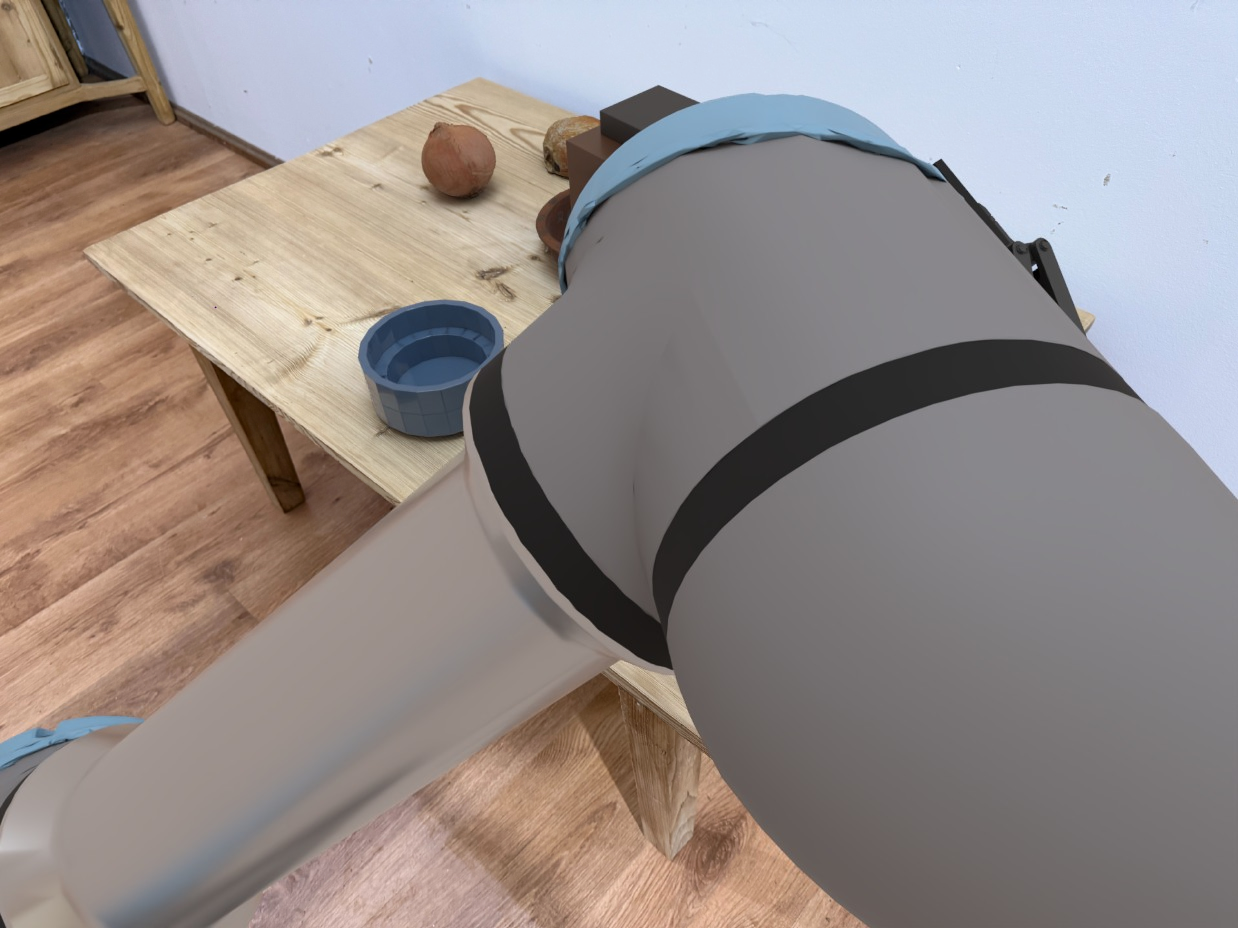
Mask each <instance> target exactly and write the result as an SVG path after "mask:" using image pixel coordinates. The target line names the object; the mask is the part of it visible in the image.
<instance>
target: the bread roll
mask: <svg viewBox="0 0 1238 928" xmlns="http://www.w3.org/2000/svg"><path fill="white" fill-rule="evenodd" d="M599 125H600V118H599V119H598V118H596V117H594V116H592V115H586V114H584V115H579V116H571V117H565V118H561V119H557V120H556V121H554V122H553V123H552V124H551V125H550V126H549V127H548V128H547V131H546V132H545V136H544V138H543V141H542V154H543V158H544V163H545V164H546V170H547V172H548V173H549V172H550V173H553V174H556V175H558V176H561V177H567V178H569V175H568V163H567V150H566V140H568V139H570V138H572V137H574V136H577V135H579V134H581V133H583V132H586V131H588V130H590V129H592V128H595V127H597V126H599Z"/></svg>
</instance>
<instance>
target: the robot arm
mask: <svg viewBox="0 0 1238 928" xmlns="http://www.w3.org/2000/svg"><path fill="white" fill-rule="evenodd" d="M1035 265H1036V268H1035V269H1034V270H1033V267H1034V266H1035ZM557 269H558V271H557V272H558V283H559V288H560V294H561V296H560V297H559V298H558V299H557V300H556V301H555V302H554V303H552V304H551V305H550V306H549V307H548V308H547V309H546V310H544V311H543V312H542V313H541V314H540V315H539V316H538V317H537V318H536V319H535V320H533V321H532V322H531V323H530V324H529V325H528V326H527V327H526V328H524V330H523V331H521V332H520V333H519V334H518V335H516V337H515V338H514V339H512V340H511V341H510V343H509V344H508V345H507V344H506V347H505V348H504V349H503V350H502V351H501V352H500V353H499V354H497V355H496V356H495V357H494V358H493V359H492V360H491V361H490V362H489V363H487V364H486V365H485V366H484V367H483V368H482V369H480V370H479V371H478V372H477V373H476V374H475V376H474V377H473V378H472V380H471V381H470V383H469V384H468V387H467V390H466V393H465V396H464V402H463V409H462V414H463V431H462V432H463V442H464V448H463V449H462V450H461V451H460V452H458V453H457V454H456V455H454V457H452V458H451V459H450V460H449V461H448V462H447V463H446V464H445V465H443V466H442V467H441V468H440V469H438V471H435V473H434V474H433V475H431V476H430V477H429V478H428V479H427V480H426V481H425V482H423V483H422V484H421V485H420V486H418V487H417V488H416V489H415V490H414V491H413V492H411V494H409V495H408V496H407V497H405V499H403V500H402V501H401V502H399V504H397V505H396V506H394V508H392V510H390V511H389V512H387V514H386V515H384V516H383V517H382V518H381V519H380V520H379V521H377V522H376V523H375V524H373V526H372V527H370V528H369V529H368V530H367V531H366V532H364V533H363V534H362V535H361V536H360V537H359V538H358V539H357V540H355V541H354V542H353V543H352V544H351V545H349V546H348V547H347V548H346V549H344V550H343V551H342V552H341V553H340V554H338V556H336V557H335V558H334V559H332V561H330V562H329V563H328V564H327V565H326V566H325V567H323V568H321V570H320V571H319V572H317V574H315V575H313V577H311V579H309V580H308V581H307V582H306V583H305V584H303V585H302V586H301V587H300V588H299V589H298V590H296V591H295V592H294V593H293V594H292V595H290V597H288V598H287V599H286V600H285V601H284V602H282V603H281V604H280V605H278V607H277V608H275V609H274V610H273V611H272V612H271V613H270V614H269V615H267V616H266V617H265V618H263V619H262V620H261V621H260V622H259V623H257V625H256V626H254V627H252V629H250V631H248V632H247V633H246V634H245V635H244V636H243V637H241V638H240V639H239V640H238V641H237V642H236V643H234V644H233V645H232V646H231V647H230V648H228V649H227V650H226V651H225V652H224V653H222V655H220V656H219V657H217V659H216V660H214V661H213V662H212V663H211V664H210V665H208V666H207V667H206V668H205V669H204V670H203V671H202V672H201V673H199V674H198V675H197V676H196V677H194V678H193V679H192V680H191V681H190V682H188V683H187V684H186V685H185V686H184V687H182V689H180V690H179V691H178V692H176V694H174V695H173V696H172V697H171V698H170V699H168V701H166V702H165V703H164V704H163V705H161V706H160V707H159V708H158V709H157V710H156V711H155V712H153V713H152V714H151V715H150V716H149V717H147V718H142V717H135V716H127V715H91V716H89V715H88V716H83V717H75V718H68V719H64V720H61V721H60V722H59V723H58V724H57V725H56V727H55V729H54V730H53V729H52V730H51V729H50V730H49V729H45V728H43V727H39V726H38V727H34V728H31V729H28V730H26V731H22V732H20V733H17V734H16V735H14V736H12V737H10V738H8V739H6V740H4V741H2V742H0V928H248V927H249V925H250V923H251V922H252V920H253V918H254V916H255V914H256V912H257V910H258V908H259V906H260V903H261V900H262V897H263V894H264V891H266V890H268V889H269V888H271V887H272V886H274V885H275V884H276V883H278V882H280V881H281V880H282V879H284V878H286V877H288V876H289V875H290V874H292V873H294V872H295V871H297V870H299V869H300V868H301V867H303V866H305V865H306V864H308V863H309V862H311V861H312V860H314V859H315V858H317V857H319V856H320V855H321V854H323V853H325V852H326V851H327V850H329V849H331V848H332V847H334V846H335V845H337V844H338V843H340V842H341V841H343V840H345V839H346V838H348V837H349V836H351V835H352V834H355V832H357V831H358V830H360V829H361V828H363V827H365V826H366V825H369V823H371V822H372V821H374V820H375V819H377V818H379V817H380V816H382V815H384V814H385V813H386V812H388V811H389V810H391V809H392V808H394V807H395V806H397V805H398V804H400V803H401V802H403V801H405V800H406V799H408V798H409V797H412V795H414V794H416V793H417V792H419V791H420V790H422V789H424V788H425V787H426V786H428V785H430V784H431V783H433V782H434V781H436V780H437V779H439V778H441V777H442V776H443V775H445V774H447V773H448V772H450V771H451V770H453V769H454V768H456V767H458V766H459V765H461V764H462V763H463V762H465V761H467V760H468V759H470V758H472V757H473V756H474V755H476V754H477V753H479V752H481V751H482V750H484V749H485V748H487V747H488V746H490V745H492V744H493V743H495V742H496V741H498V740H499V739H501V738H503V737H504V736H506V735H508V733H510V732H511V731H513V730H514V729H516V728H518V727H519V726H521V725H522V724H524V723H525V722H527V721H528V720H530V719H532V718H533V717H535V716H536V715H538V714H539V713H541V712H542V711H544V710H545V709H547V708H549V707H550V706H552V705H553V704H555V703H556V702H557V701H559V700H561V699H562V698H564V697H566V696H567V695H568V694H570V693H572V692H574V691H575V690H576V689H578V688H579V687H581V686H583V685H584V684H586V683H587V682H589V681H591V680H593V679H594V678H595V677H596V676H598V675H599V674H601V673H603V672H604V671H606V670H607V669H609V668H610V667H612V666H614V665H615V664H616V663H618V662H619V661H623V662H624V663H627V664H630V665H632V666H635V667H638V668H641V669H643V670H646V671H649V672H652V673H656V674H660V675H662V676H674V678H675V680H676V683H677V686H678V690H679V691H680V694H681V697H682V699H683V703H684V705H685V708H686V710H687V712H688V714H689V717H690V719H691V721H692V724H693V726H694V728H695V730H696V732H697V734H698V735H699V737H700V739H701V741H702V744H703V745H704V747H705V748H706V751H707V753H708V754H709V757H710V758H711V760H712V762H713V764H714V766H715V768H716V770H717V772H718V773H719V775H720V777H721V779H722V780H723V782H724V783H725V784H726V785H727V786H728V788H729V789H730V791H731V792H732V793H733V794H734V796H735V797H736V798H737V799H738V801H739V803H741V805H742V806H743V807H744V808H745V810H746V811H747V812H748V813H749V815H750V816H751V818H752V819H753V820H754V821H755V822H756V824H757V825H758V826H759V827H760V829H761V830H762V831H763V832H764V833H765V835H766V836H768V838H769V839H771V841H772V842H773V843H774V844H775V845H776V846H777V848H778V849H780V850H781V851H782V852H783V854H784V855H785V856H786V857H787V858H788V859H789V860H790V861H791V862H792V864H794V865H795V866H796V867H797V868H798V869H799V870H800V871H801V872H802V873H803V874H804V875H805V876H806V877H808V878H809V879H810V880H811V881H812V882H813V883H814V884H815V885H816V886H818V887H819V888H820V889H821V890H822V892H824V893H825V894H826V895H827V896H828V897H830V898H831V899H832V900H833V901H834V902H836V903H837V904H838V905H839V906H841V908H843V909H844V910H846V911H847V912H848V913H850V914H851V915H852V916H853V917H855V918H856V919H857V920H858V921H860V922H861V923H862V924H864V925H865V926H866V927H868V928H1238V498H1237V496H1236V495H1234V493H1233V492H1232V491H1231V490H1230V489H1229V487H1228V486H1227V485H1225V483H1224V481H1222V479H1221V478H1220V477H1219V476H1218V475H1217V474H1216V473H1215V471H1213V469H1212V468H1211V467H1210V466H1209V465H1208V463H1207V462H1206V461H1205V460H1204V459H1203V458H1202V457H1201V455H1199V453H1198V452H1197V451H1196V450H1195V448H1193V447H1192V445H1191V444H1190V443H1189V442H1188V441H1187V440H1186V439H1185V438H1184V437H1183V436H1182V435H1181V434H1180V433H1179V432H1178V430H1176V428H1174V427H1173V426H1172V425H1171V424H1170V423H1169V422H1168V421H1167V420H1166V419H1165V418H1164V417H1163V415H1161V414H1160V413H1159V412H1158V411H1156V410H1155V409H1154V408H1152V407H1151V406H1149V404H1147V403H1146V402H1145V401H1144V400H1143V398H1141V396H1140V395H1139V394H1138V393H1137V392H1136V391H1135V390H1134V389H1133V388H1132V387H1131V386H1130V385H1129V384H1128V383H1127V381H1126V380H1125V379H1124V378H1123V376H1122V375H1121V374H1120V373H1119V372H1118V370H1116V369H1115V368H1114V367H1113V365H1112V364H1111V363H1110V362H1109V360H1107V359H1106V357H1105V356H1104V355H1103V354H1102V353H1101V352H1100V350H1098V349H1097V347H1096V346H1095V345H1094V344H1093V343H1092V342H1091V341H1090V340H1089V339H1088V337H1087V334H1086V331H1085V329H1084V325H1083V323H1082V321H1081V319H1080V316H1079V313H1078V310H1077V308H1076V305H1075V303H1074V301H1073V298H1072V296H1071V293H1070V290H1069V288H1068V285H1067V283H1066V282H1067V281H1066V280H1065V277H1064V276H1063V271H1062V270H1061V267H1060V265H1059V262H1058V259H1057V257H1056V255H1055V252H1054V249H1053V246H1052V245H1051V243H1050V241H1048V239H1046V238H1044V237H1037V238H1036V239H1035V240H1033V241H1031V242H1023V241H1020V240H1014V239H1012V238H1011V236H1010V235H1009V234H1008V233H1007V232H1006V231H1005V229H1004V228H1003V227H1002V226H1001V224H1000V223H999V222H998V221H997V220H996V218H995V216H993V215H992V214H991V212H990V211H989V209H988V208H987V207H986V206H984V205H982V204H981V202H978V200H976V198H974V197H973V195H972V194H971V193H970V191H969V190H968V189H967V188H966V186H965V185H964V184H963V183H962V181H961V180H960V179H959V178H958V177H957V176H956V174H955V173H954V172H953V171H952V169H951V168H950V167H949V166H948V165H947V163H946V162H945V161H944V160H943V158H940V159H938V160H936V161H935V162H933V163H932V164H931V163H930V162H926V161H924V160H922V159H920V158H918V157H916V156H915V155H913V154H912V153H911V152H910V150H908V149H907V148H906V147H904V146H901V144H899V143H898V142H897V141H895V140H894V138H892V137H891V136H890V135H889V134H888V133H886V131H884V130H883V129H882V128H881V127H879V126H878V125H877V124H876V123H874V122H873V121H871V120H870V119H868V118H867V117H865V116H863V115H862V114H859V113H858V112H856V111H854V110H852V109H850V108H847V107H845V106H842V105H840V104H837V103H834V102H832V101H828V100H825V99H822V98H819V97H813V96H809V95H804V94H797V95H796V94H788V93H776V94H762V93H757V92H748V93H747V92H746V93H739V94H734V95H729V96H723V97H718V98H714V99H713V98H712V99H709V100H706V101H703V102H700V103H699V104H696V105H693V106H690V107H687V108H685V109H682V110H680V111H677V112H675V113H673V114H671V115H669V116H667V117H665V118H663V119H661V120H659V121H657V122H655V123H654V124H652V125H650V126H649V127H647V128H645V129H644V130H642V131H641V132H639V133H638V134H636V135H635V136H633V137H632V138H631V139H629V140H628V141H627V142H625V143H624V144H623V145H622V146H621V147H619V148H618V149H617V150H616V151H615V152H614V153H613V154H612V155H611V156H610V157H609V158H608V159H607V160H606V161H605V162H604V163H603V164H602V165H601V166H600V167H599V169H598V170H597V171H596V172H595V173H594V175H593V176H592V177H591V179H590V180H589V182H588V183H587V184H586V186H585V188H584V189H583V191H582V192H581V194H580V195H579V197H578V199H577V202H576V203H575V205H574V208H573V210H572V212H571V214H570V216H569V219H568V222H567V226H566V229H565V234H564V240H563V243H562V246H561V249H560V253H559V258H558V264H557Z"/></svg>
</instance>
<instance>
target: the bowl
mask: <svg viewBox="0 0 1238 928" xmlns="http://www.w3.org/2000/svg"><path fill="white" fill-rule="evenodd" d="M506 346H507V343H506V337H505V331H504V328H503V327H502V325H501V323H500V321H499V320H498V318H497V317H496V316H495V314H492V313H491V312H490V311H488V310H487V309H486V308H484V306H480V305H477V304H474V303H471V302H468V301H463V300H456V299H443V298H442V299H431V300H423V301H419V302H416V303H413V304H409V305H406V306H403V307H400V308H397V309H396V310H394V311H391V312H389V313H388V314H386V315H384V316H382V317H381V318H380V319H379V320H377V321H376V322H375V323H374V324H373V325H372V326H370V327H369V329H368V330H367V331H366V333H365V334H364V336H363V337H362V339H361V340H360V343H359V348H358V355H357V360H358V363H359V366H360V369H361V372H362V374H363V379H364V381H365V384H366V387H367V389H368V393H369V396H370V398H371V402H372V406H373V407H374V411H375V413H376V415H377V416H378V418H380V419H381V421H383V422H384V423H385V424H386V425H387V426H388V427H390V428H392V429H394V430H397V431H399V432H401V433H404V434H406V435H410V436H419V437H425V438H426V437H427V438H428V437H429V438H433V437H443V436H452V435H454V434H458V433H461V432H463V414H462V409H463V402H464V396H465V393H466V390H467V387H468V384H469V383H470V381H471V380H472V378H473V377H474V376H475V374H476V373H477V372H478V371H479V370H480V369H482V368H483V367H484V366H485V365H486V364H487V363H489V362H490V361H491V360H492V359H493V358H494V357H495V356H496V355H497V354H499V353H500V352H501V351H502V350H503V349H504V348H505V347H506Z"/></svg>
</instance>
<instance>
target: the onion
mask: <svg viewBox="0 0 1238 928" xmlns="http://www.w3.org/2000/svg"><path fill="white" fill-rule="evenodd" d="M420 160H421V161H420V162H421V168H422V172H423V175H424V176H425V178H426V179H427V180H428V182H429V183H430V184H431V186H432V187H433V188H435V190H437V191H439V192H441V193H442V194H445V195H447V196H451V197H459V198H463V199H464V198H465V199H470V198H473V197H476V196H480V194H481V193H482V192H483V191H484V190H485V189H486V188H487V185H488V184H489V182H490V181H491V179H492V177H493V175H494V171H495V169H496V166H497V156H496V151H495V148H494V146H493V144H492V142H491V140H490V139H489V138H488V136H487V135H486V134H485V133H483V132H482V131H481V130H479V129H478V128H476V127H475V126H471V125H467V124H454V123H449V122H444V121H438V122H435V124H434V125H433V128H432V130H430V131H429V133H428V135H427V139H426V141H425V143H424V144H423V147H422V150H421V159H420Z"/></svg>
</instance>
